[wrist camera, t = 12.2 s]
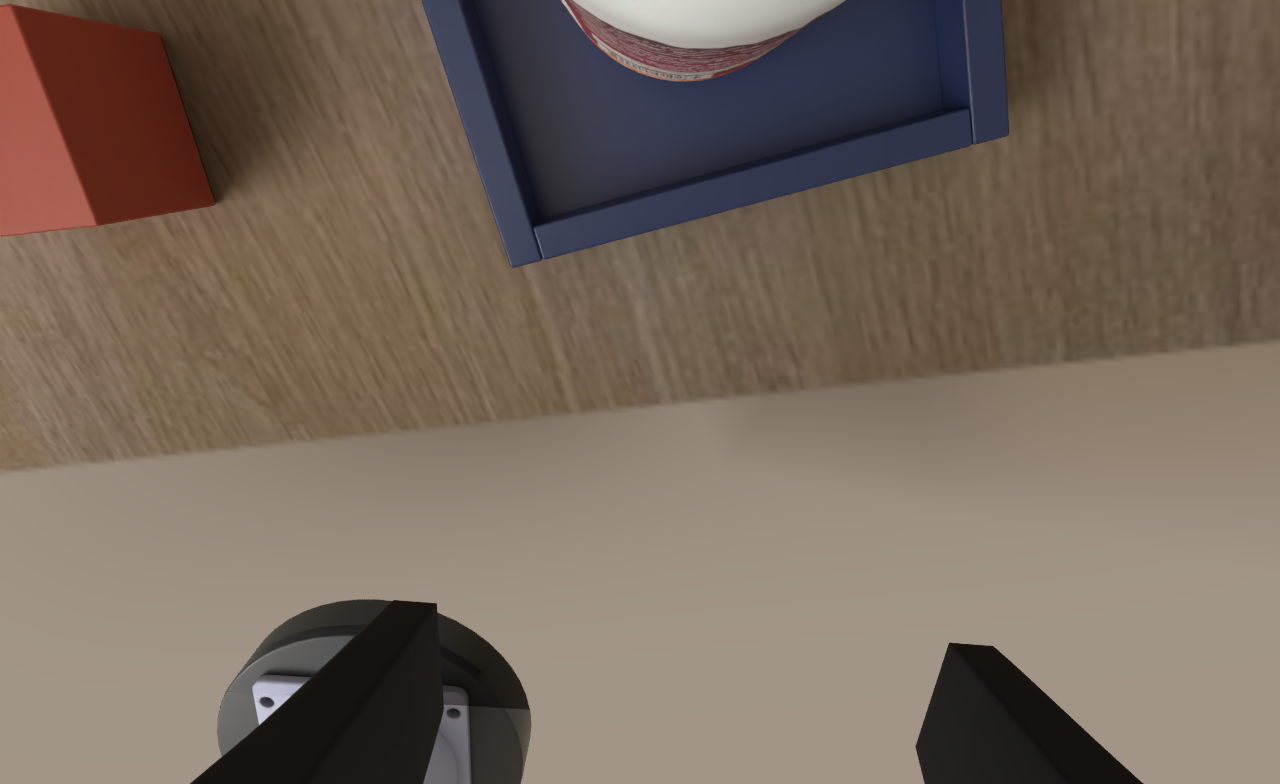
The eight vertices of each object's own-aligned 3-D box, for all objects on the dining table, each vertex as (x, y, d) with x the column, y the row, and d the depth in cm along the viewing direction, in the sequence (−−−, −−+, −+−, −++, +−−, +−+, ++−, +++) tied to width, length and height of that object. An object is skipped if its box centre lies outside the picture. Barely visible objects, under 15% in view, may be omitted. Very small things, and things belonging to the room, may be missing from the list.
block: (216, 205, 17) (98, 225, 14) (71, 221, 18) (-86, 246, 14) (160, 33, 16) (10, 3, 12) (2, 53, 16) (-193, 30, 12)
